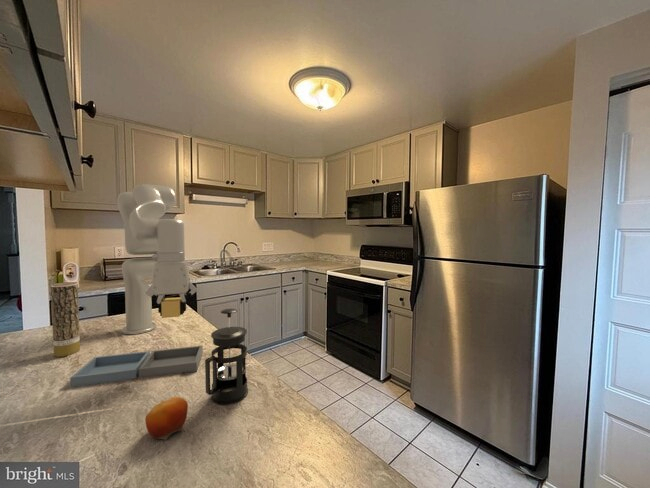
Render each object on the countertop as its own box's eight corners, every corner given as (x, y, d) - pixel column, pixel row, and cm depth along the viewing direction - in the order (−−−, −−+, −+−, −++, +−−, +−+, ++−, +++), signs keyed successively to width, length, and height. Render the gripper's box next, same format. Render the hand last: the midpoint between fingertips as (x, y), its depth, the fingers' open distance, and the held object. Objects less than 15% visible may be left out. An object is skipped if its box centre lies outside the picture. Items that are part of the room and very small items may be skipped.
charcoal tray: (152, 359, 93) (152, 350, 93) (202, 353, 97) (202, 345, 97) (138, 379, 81) (138, 369, 80) (196, 371, 85) (196, 362, 85)
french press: (236, 379, 81) (236, 302, 80) (257, 391, 75) (256, 308, 74) (197, 399, 71) (196, 311, 70) (217, 413, 66) (216, 319, 65)
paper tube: (85, 349, 100) (82, 282, 99) (65, 358, 93) (63, 285, 92) (68, 348, 101) (65, 281, 100) (48, 357, 94) (45, 285, 93)
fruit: (163, 447, 54) (151, 406, 55) (146, 452, 57) (136, 414, 59) (201, 423, 60) (189, 387, 62) (183, 429, 64) (173, 395, 66)
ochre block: (166, 313, 90) (165, 298, 90) (182, 312, 91) (182, 297, 91) (161, 317, 85) (161, 302, 85) (179, 316, 87) (179, 301, 86)
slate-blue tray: (94, 366, 88) (94, 356, 88) (150, 359, 93) (149, 351, 93) (70, 388, 76) (70, 377, 76) (135, 379, 80) (135, 369, 80)
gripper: (136, 259, 81) (137, 320, 82) (198, 258, 86) (199, 315, 87) (144, 257, 89) (146, 313, 89) (202, 256, 93) (202, 308, 94)
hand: (172, 313), depth 88 cm, fingers closed on ochre block, 5 cm apart
